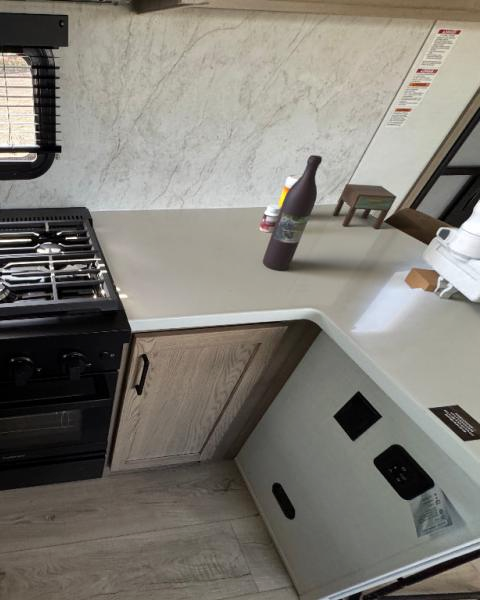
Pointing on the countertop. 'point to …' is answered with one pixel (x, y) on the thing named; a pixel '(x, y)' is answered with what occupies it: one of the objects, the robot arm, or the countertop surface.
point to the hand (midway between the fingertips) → (440, 295)
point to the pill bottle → (270, 218)
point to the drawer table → (365, 202)
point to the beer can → (288, 186)
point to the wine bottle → (293, 218)
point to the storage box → (422, 279)
